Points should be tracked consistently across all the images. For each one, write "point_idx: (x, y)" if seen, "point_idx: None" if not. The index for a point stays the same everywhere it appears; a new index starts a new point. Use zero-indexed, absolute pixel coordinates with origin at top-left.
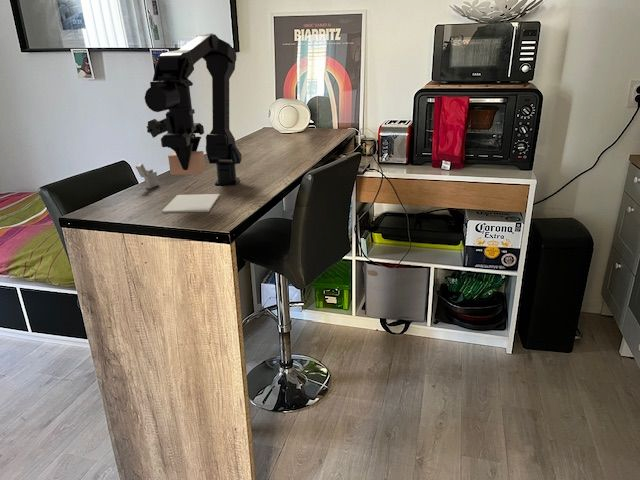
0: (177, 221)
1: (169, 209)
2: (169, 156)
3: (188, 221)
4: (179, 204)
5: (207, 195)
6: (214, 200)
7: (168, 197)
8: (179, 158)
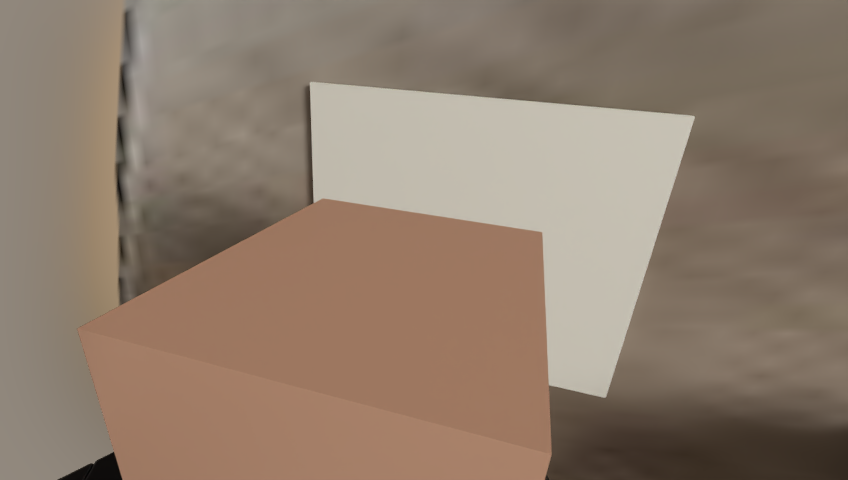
0: (196, 195)
1: (332, 126)
2: (108, 342)
3: (201, 245)
4: (426, 173)
5: (594, 332)
6: None
7: (696, 33)
8: (98, 475)
